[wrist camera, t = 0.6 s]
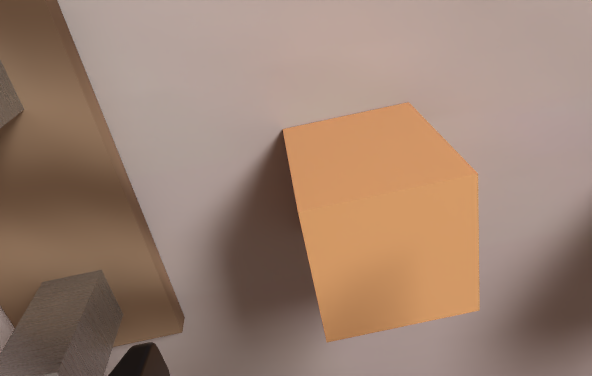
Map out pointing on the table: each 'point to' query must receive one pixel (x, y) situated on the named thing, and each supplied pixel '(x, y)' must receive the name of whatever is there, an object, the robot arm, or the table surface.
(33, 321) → the far post
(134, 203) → the board
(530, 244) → the table surface
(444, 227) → the orange block
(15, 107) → the near post
